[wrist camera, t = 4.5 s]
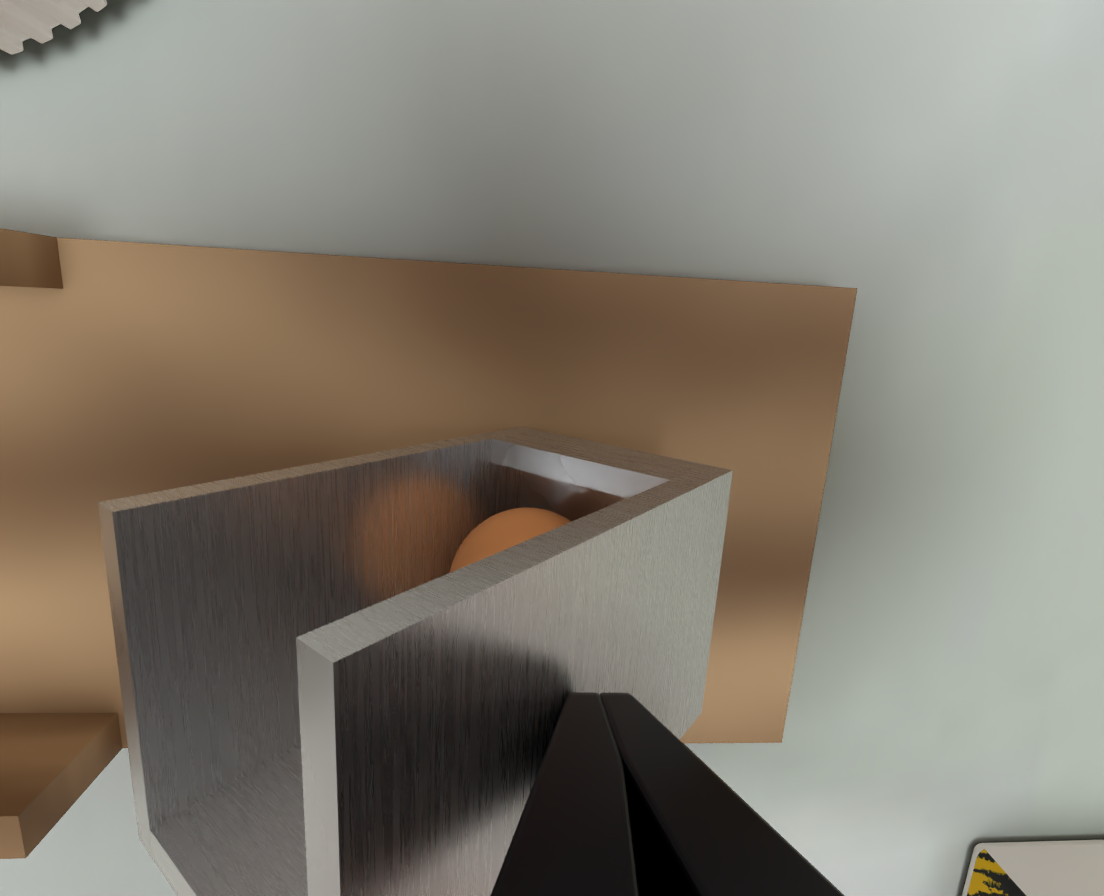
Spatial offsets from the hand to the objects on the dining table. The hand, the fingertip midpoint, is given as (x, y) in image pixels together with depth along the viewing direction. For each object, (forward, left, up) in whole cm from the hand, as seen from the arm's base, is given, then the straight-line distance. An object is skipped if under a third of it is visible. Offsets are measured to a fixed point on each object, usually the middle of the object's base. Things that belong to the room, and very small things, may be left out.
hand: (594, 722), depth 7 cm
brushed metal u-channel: (0, -1, -5) cm, 5 cm away
